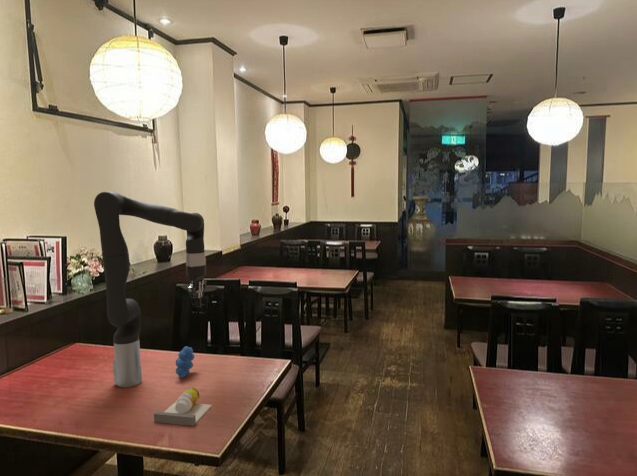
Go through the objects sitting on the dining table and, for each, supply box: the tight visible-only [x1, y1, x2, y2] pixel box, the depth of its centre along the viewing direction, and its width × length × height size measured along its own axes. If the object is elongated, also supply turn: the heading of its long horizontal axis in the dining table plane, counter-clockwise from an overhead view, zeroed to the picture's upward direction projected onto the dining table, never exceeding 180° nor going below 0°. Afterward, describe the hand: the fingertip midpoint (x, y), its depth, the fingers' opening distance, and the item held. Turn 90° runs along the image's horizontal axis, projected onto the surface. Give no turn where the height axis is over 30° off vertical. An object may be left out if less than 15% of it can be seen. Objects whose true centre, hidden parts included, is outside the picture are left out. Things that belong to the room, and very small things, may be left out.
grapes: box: [175, 345, 195, 379], centre depth 183 cm, size 12×7×12 cm, turn 164°
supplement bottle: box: [175, 386, 201, 414], centre depth 154 cm, size 6×6×10 cm
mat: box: [153, 401, 213, 427], centre depth 152 cm, size 14×13×3 cm
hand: (198, 306), depth 178 cm, fingers closed
